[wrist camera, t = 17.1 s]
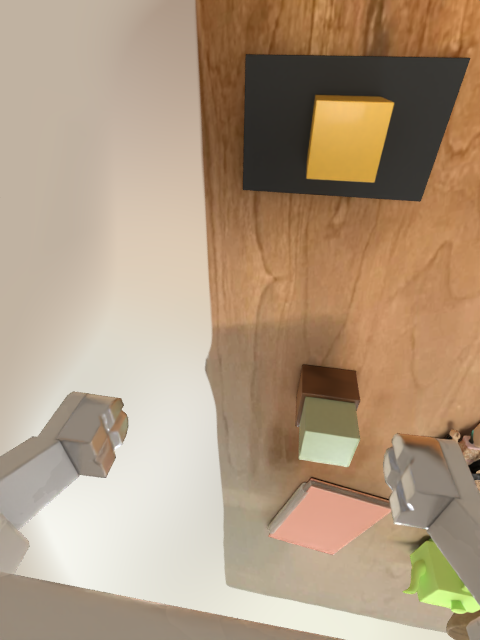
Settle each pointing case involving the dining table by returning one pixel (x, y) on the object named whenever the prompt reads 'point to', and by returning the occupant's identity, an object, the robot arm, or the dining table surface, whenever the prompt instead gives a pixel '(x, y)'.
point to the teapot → (438, 581)
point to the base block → (326, 386)
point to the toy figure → (469, 449)
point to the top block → (347, 137)
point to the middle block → (328, 431)
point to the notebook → (326, 516)
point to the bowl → (460, 625)
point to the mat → (346, 80)
